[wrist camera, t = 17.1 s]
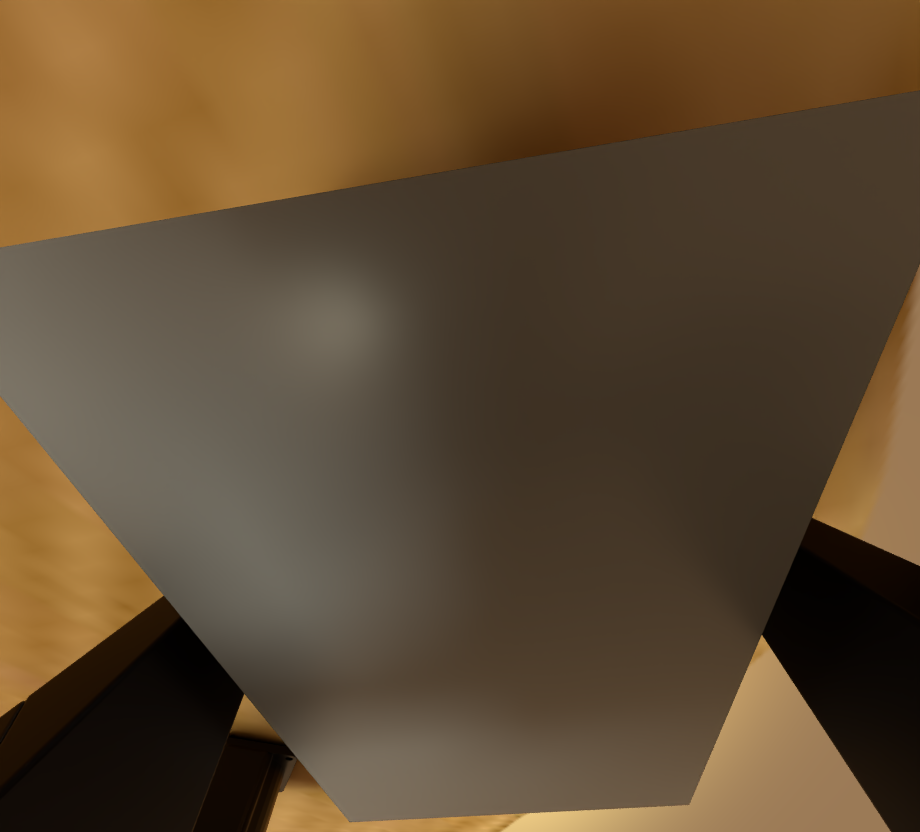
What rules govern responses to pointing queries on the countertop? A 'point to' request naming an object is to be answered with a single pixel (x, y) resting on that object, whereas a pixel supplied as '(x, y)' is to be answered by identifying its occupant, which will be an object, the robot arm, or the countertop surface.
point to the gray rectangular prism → (484, 440)
